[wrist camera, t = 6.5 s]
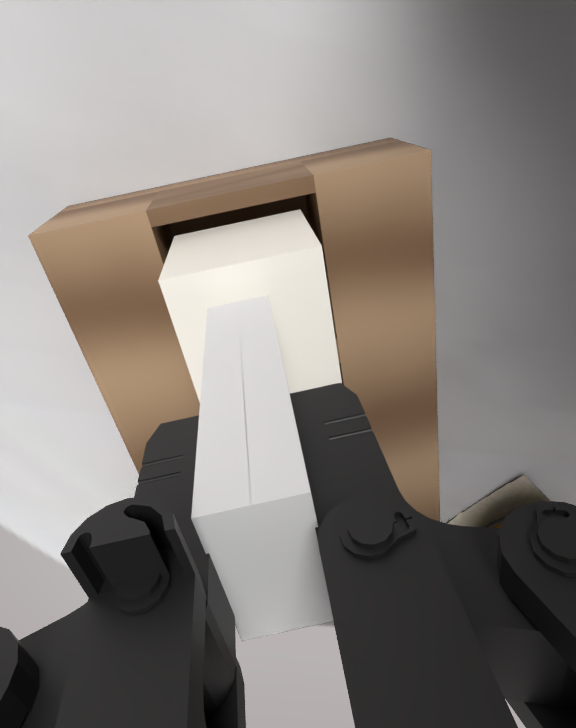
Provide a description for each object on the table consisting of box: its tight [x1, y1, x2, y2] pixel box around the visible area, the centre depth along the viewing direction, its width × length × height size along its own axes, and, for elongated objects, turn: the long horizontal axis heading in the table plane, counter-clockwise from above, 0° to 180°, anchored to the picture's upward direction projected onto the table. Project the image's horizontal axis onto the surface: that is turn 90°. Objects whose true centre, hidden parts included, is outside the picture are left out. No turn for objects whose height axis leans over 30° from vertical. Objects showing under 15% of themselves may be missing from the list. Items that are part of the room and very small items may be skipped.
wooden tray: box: [28, 138, 440, 522], centre depth 20 cm, size 18×12×4 cm, turn 10°
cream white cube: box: [158, 209, 342, 402], centre depth 14 cm, size 4×4×4 cm
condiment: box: [447, 475, 549, 528], centre depth 25 cm, size 7×8×12 cm
